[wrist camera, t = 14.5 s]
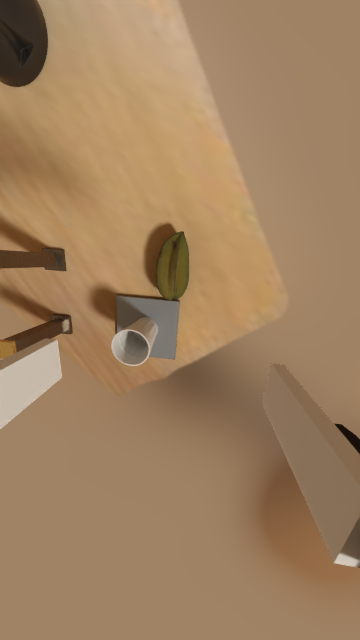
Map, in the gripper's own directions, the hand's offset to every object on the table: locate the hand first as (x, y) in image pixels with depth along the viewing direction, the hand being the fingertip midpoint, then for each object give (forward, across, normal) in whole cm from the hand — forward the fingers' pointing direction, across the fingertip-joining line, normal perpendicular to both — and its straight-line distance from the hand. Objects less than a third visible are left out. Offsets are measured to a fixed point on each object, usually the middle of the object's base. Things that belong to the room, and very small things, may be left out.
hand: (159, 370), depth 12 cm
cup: (+36, -10, -11) cm, 39 cm away
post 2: (+37, -34, -12) cm, 52 cm away
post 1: (+37, -34, +4) cm, 50 cm away
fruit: (+37, -3, +5) cm, 37 cm away
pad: (+37, -10, -11) cm, 40 cm away
